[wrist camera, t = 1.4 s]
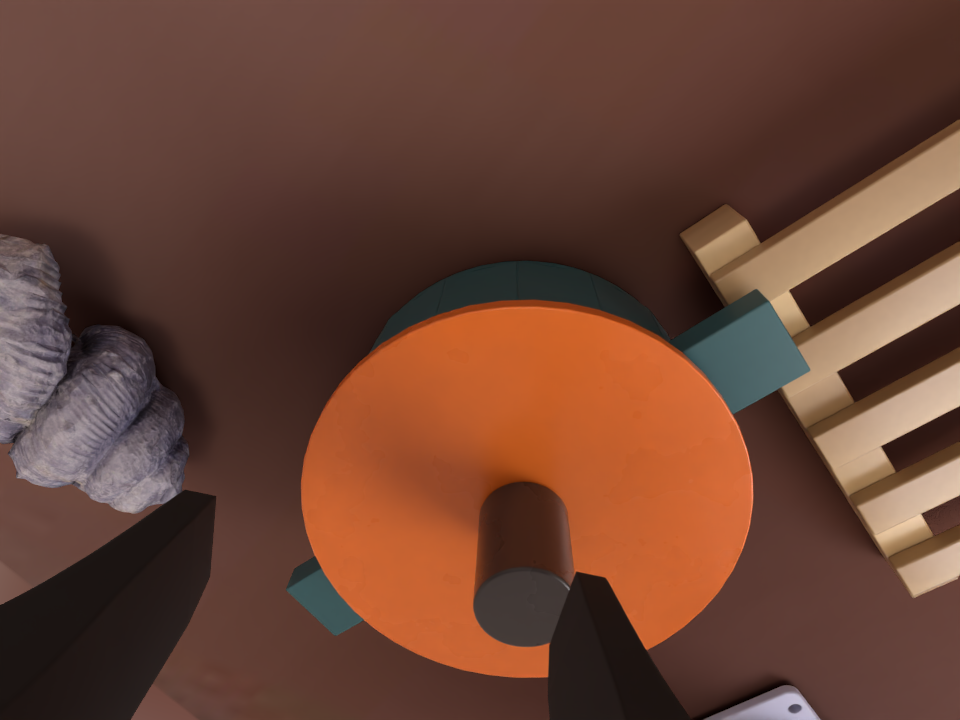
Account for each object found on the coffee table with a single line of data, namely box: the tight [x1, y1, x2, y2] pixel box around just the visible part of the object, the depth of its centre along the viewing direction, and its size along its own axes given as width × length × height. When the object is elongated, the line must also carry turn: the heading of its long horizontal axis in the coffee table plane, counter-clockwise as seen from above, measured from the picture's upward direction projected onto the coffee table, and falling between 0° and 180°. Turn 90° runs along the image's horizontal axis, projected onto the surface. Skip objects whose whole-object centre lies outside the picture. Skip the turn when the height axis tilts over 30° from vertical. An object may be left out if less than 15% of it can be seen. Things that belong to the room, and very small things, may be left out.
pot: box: [286, 261, 810, 636], centre depth 22 cm, size 11×17×5 cm
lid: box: [301, 300, 753, 678], centre depth 18 cm, size 12×12×4 cm
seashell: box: [0, 234, 189, 514], centre depth 21 cm, size 5×5×10 cm
